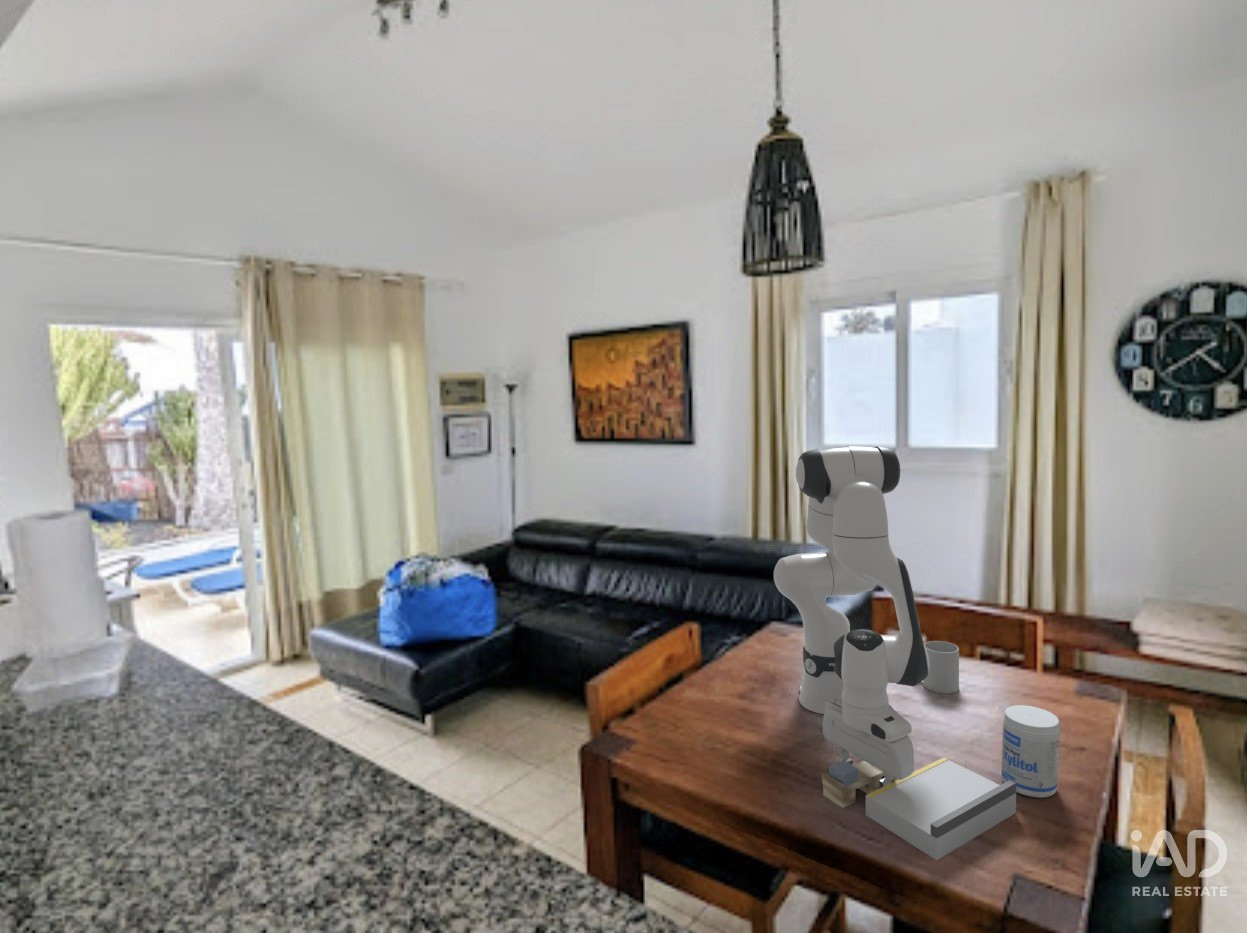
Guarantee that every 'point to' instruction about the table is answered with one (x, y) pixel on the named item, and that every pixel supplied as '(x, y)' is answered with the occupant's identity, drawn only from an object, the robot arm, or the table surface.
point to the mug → (942, 667)
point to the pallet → (846, 795)
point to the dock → (941, 806)
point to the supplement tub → (1030, 750)
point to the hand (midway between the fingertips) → (865, 778)
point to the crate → (844, 773)
